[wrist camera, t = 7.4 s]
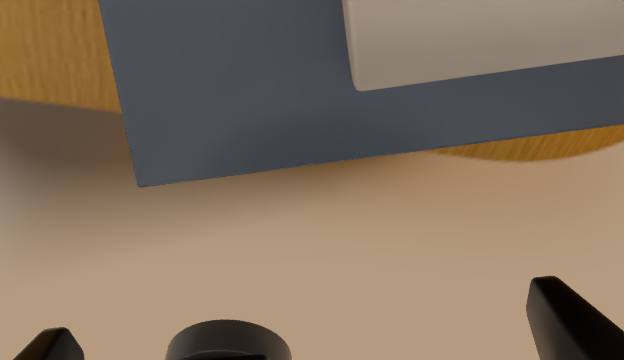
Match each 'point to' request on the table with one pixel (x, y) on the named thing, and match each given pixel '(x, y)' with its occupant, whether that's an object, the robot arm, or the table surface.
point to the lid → (353, 78)
